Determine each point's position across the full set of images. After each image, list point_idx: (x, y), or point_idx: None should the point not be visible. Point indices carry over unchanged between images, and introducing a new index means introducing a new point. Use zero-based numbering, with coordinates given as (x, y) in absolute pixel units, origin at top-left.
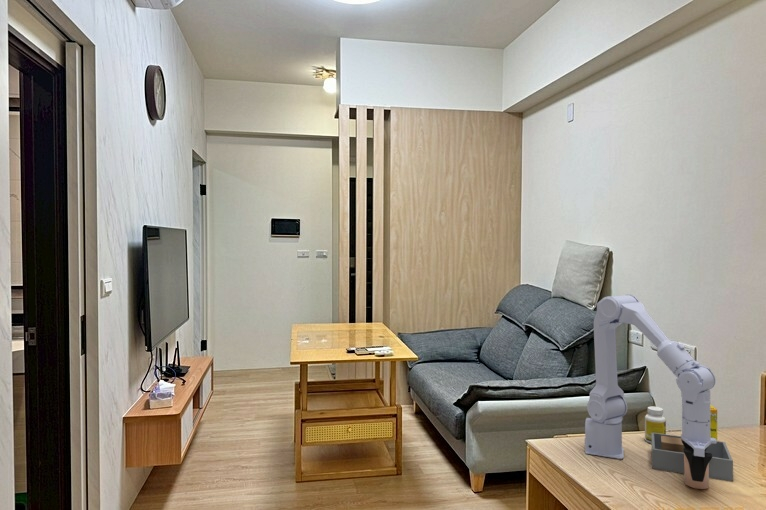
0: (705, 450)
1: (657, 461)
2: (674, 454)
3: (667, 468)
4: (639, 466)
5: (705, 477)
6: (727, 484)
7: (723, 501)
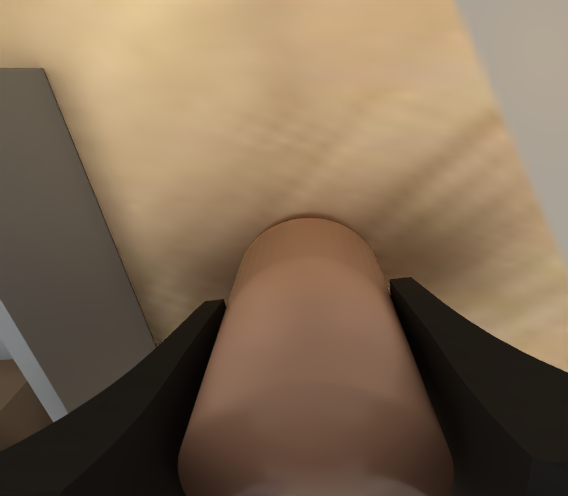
0: (126, 431)
1: None
2: None
3: None
4: None
5: (369, 273)
6: (131, 104)
7: (465, 116)
